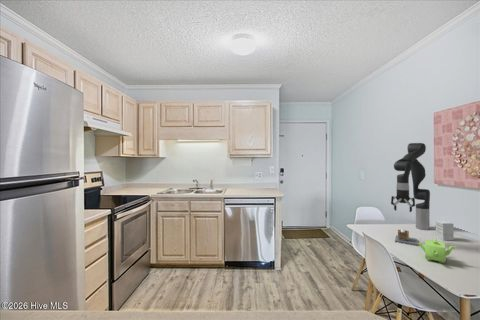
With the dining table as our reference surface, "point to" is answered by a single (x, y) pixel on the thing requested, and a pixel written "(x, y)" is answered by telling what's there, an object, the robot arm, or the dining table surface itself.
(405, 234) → the wooden square frame
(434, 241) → the kettle
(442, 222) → the supplement box
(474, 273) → the dining table surface
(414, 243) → the post stand
